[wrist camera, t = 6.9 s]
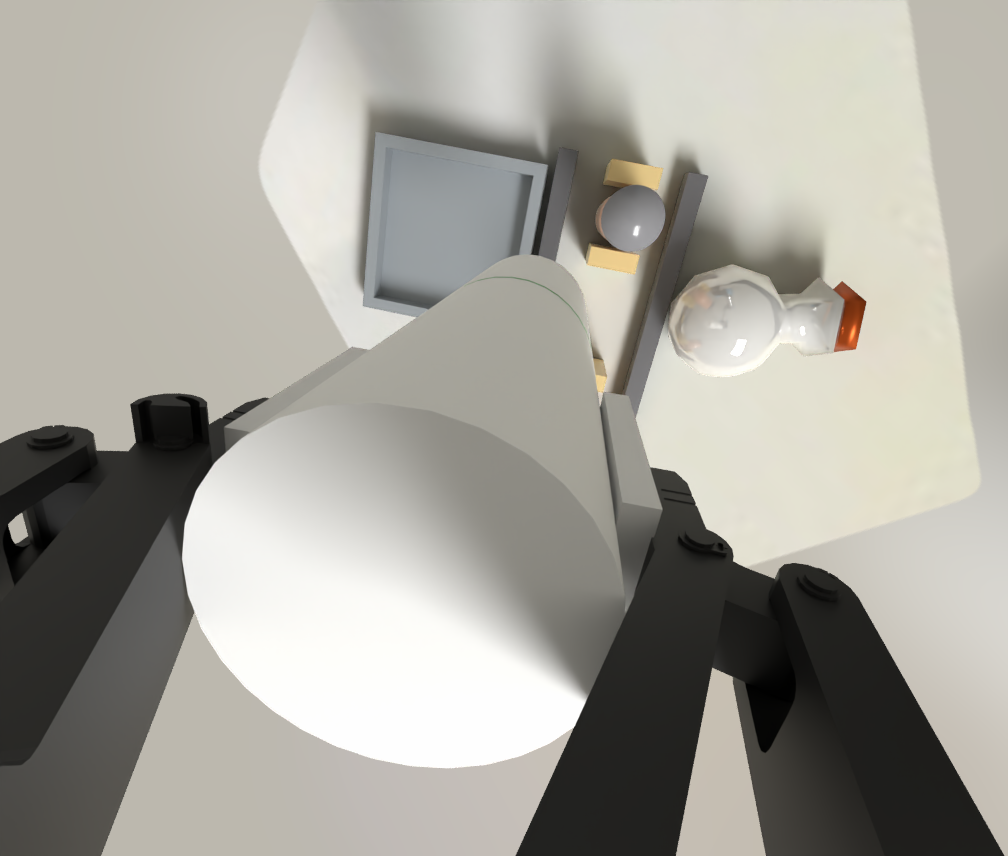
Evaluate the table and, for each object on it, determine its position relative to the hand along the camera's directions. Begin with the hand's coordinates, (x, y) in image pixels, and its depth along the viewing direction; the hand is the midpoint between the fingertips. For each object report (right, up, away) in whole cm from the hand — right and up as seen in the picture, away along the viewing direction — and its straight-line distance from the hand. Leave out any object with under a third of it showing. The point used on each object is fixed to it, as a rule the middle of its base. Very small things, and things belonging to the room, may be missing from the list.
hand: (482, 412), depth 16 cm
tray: (-4, +17, +33) cm, 38 cm away
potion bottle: (+23, +11, +33) cm, 41 cm away
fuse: (+11, +18, +31) cm, 38 cm away
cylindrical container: (+2, +6, +15) cm, 16 cm away
